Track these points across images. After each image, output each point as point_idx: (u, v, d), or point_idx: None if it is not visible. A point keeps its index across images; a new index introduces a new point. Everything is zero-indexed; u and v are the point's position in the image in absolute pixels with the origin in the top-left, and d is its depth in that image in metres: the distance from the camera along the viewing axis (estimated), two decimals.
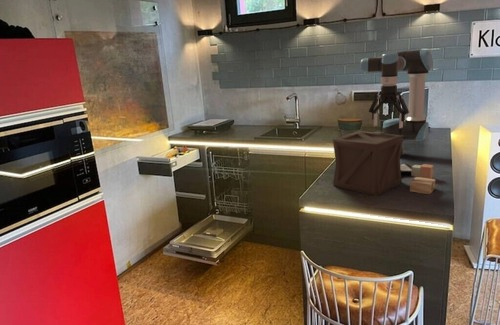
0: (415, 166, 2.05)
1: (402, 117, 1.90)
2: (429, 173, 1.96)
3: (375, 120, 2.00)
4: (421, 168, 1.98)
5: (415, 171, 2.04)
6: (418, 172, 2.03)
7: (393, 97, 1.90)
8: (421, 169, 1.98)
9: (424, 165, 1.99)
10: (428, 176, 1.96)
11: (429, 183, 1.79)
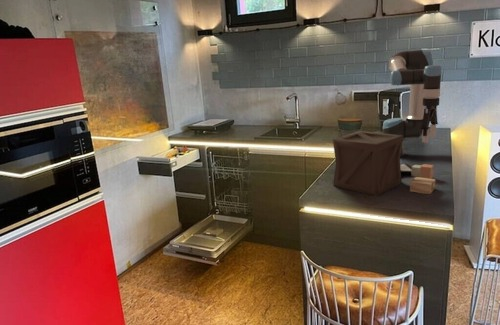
0: (415, 166, 2.05)
1: None
2: (429, 173, 1.96)
3: (430, 131, 1.99)
4: (421, 168, 1.98)
5: (415, 171, 2.04)
6: (418, 172, 2.03)
7: None
8: (421, 169, 1.98)
9: (424, 165, 1.99)
10: (428, 176, 1.96)
11: (429, 183, 1.79)
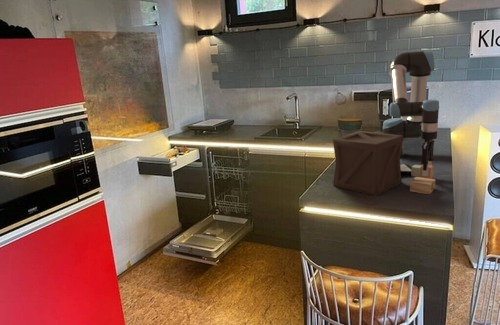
0: (415, 166, 2.05)
1: None
2: (429, 173, 1.96)
3: None
4: (421, 168, 1.98)
5: (415, 171, 2.04)
6: (418, 172, 2.03)
7: None
8: (421, 169, 1.98)
9: None
10: (428, 176, 1.96)
11: (429, 183, 1.79)
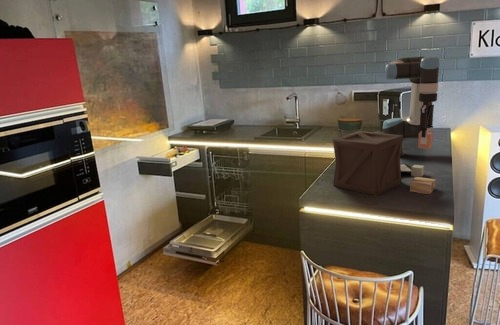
0: (415, 166, 2.05)
1: None
2: (428, 140, 1.75)
3: None
4: (419, 135, 1.77)
5: (415, 171, 2.04)
6: (418, 172, 2.03)
7: None
8: (419, 136, 1.77)
9: None
10: (427, 144, 1.76)
11: (429, 183, 1.79)
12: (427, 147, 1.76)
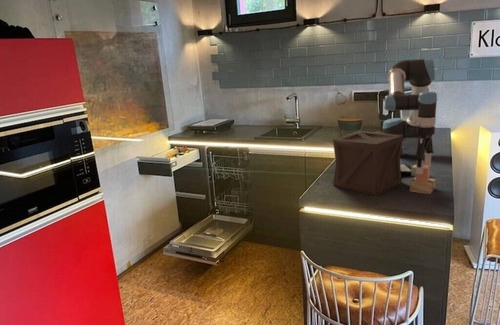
0: (415, 166, 2.05)
1: None
2: (426, 174, 1.80)
3: (425, 160, 1.86)
4: None
5: (415, 171, 2.04)
6: None
7: None
8: None
9: None
10: (425, 178, 1.80)
11: (429, 183, 1.79)
12: (424, 181, 1.81)
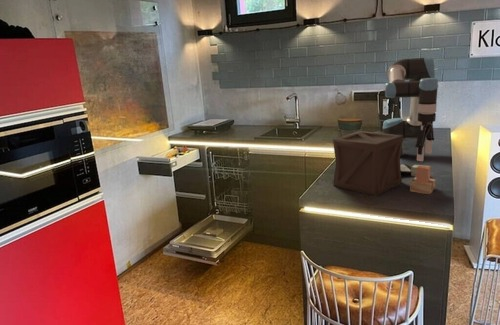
0: (415, 166, 2.05)
1: None
2: (426, 175, 1.79)
3: (426, 147, 1.85)
4: (417, 169, 1.81)
5: (415, 171, 2.04)
6: None
7: None
8: (417, 170, 1.81)
9: (421, 166, 1.82)
10: (425, 178, 1.80)
11: (429, 183, 1.79)
12: (425, 181, 1.80)
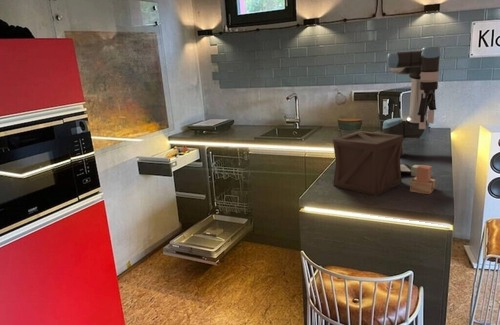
0: (415, 166, 2.05)
1: None
2: (426, 175, 1.79)
3: (428, 117, 1.87)
4: (418, 169, 1.81)
5: (415, 171, 2.04)
6: None
7: None
8: (418, 170, 1.81)
9: (421, 166, 1.82)
10: (425, 178, 1.80)
11: (429, 183, 1.79)
12: (425, 181, 1.80)
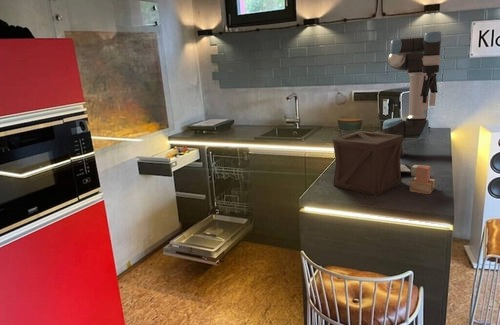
0: (415, 166, 2.05)
1: None
2: (426, 175, 1.79)
3: (430, 99, 1.99)
4: (417, 169, 1.81)
5: (415, 171, 2.04)
6: None
7: None
8: (417, 170, 1.81)
9: (420, 166, 1.83)
10: (425, 178, 1.80)
11: (429, 183, 1.79)
12: (425, 181, 1.80)
